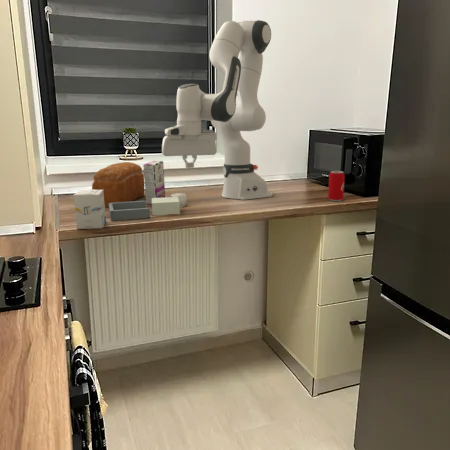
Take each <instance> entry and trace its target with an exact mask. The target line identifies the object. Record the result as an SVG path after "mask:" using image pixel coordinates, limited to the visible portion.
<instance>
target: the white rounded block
mask: <svg viewBox="0 0 450 450" xmlns="http://www.w3.org/2000/svg"><path fill="white" fill-rule="evenodd" d="M170 197H178V199H179V207H180V208H183V207H186V206H187V194H186V193H184V192H174V193H171V194H170Z"/></svg>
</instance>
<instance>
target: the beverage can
mask: <svg viewBox="0 0 450 450" xmlns="http://www.w3.org/2000/svg"><path fill="white" fill-rule="evenodd" d="M345 178H346V177H345V172H344V171H342V170H332V171H330V173H329V176H328V192H327V194H328V195H327V199H328V200H329V201H331V202H341V201H342V200H344V194H345V180H346V179H345Z"/></svg>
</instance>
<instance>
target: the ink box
mask: <svg viewBox="0 0 450 450" xmlns="http://www.w3.org/2000/svg"><path fill="white" fill-rule="evenodd" d="M72 196H73V203H74V211H75V212H74V213H75V223H76V229H77V230H83V229H84V230H85V229H103V228H104V227H105V224H106V222H107V217H106V207H105V204H104V193H103V190H92V189H81V190H78V191H76V192H75V193H74V194H73V195H72Z"/></svg>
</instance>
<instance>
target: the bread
mask: <svg viewBox="0 0 450 450" xmlns="http://www.w3.org/2000/svg"><path fill="white" fill-rule="evenodd" d="M142 170H143V168H142V167H141V165H139V164H137V163H134V162H130V161H123V162H118V163H117V162H116V163H112V164H110V165H107V166H106V167H103V168H100V169H99V170H97V172H96V173H95V174H94V175H93V182H92V185H91V190H103V193H104V204H105V208H109V203H116V202H131V201H136V200H137V199H140V198H141V197H143V196H144V195H145V180H144V173H143V171H142Z"/></svg>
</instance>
